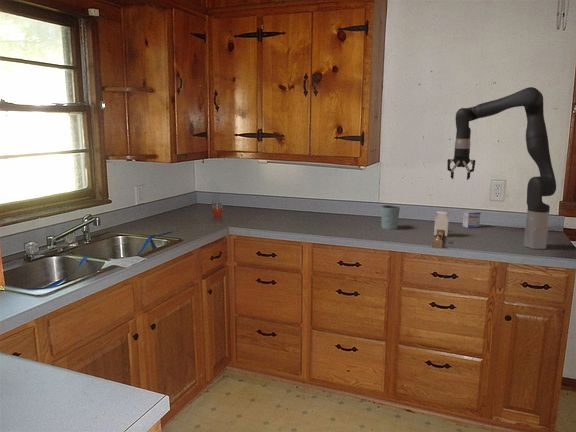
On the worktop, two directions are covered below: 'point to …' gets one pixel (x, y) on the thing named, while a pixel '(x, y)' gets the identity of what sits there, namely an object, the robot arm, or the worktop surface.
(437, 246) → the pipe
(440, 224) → the beige rectangular block
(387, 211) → the grey-green cup
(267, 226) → the worktop surface
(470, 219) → the medicine box
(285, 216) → the worktop surface
